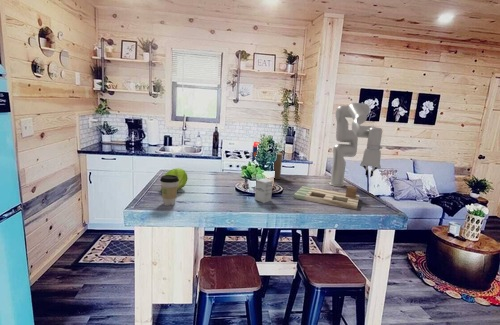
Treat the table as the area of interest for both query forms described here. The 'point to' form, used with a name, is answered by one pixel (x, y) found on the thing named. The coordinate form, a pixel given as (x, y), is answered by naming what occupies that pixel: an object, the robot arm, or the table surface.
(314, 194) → the board
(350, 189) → the walnut cube
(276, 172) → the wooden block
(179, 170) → the lettuce
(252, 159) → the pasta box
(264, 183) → the supplement box
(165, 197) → the coffee cup
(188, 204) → the table surface
